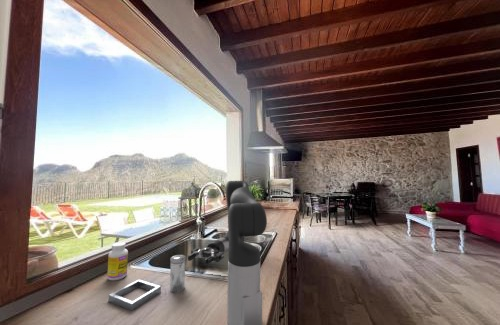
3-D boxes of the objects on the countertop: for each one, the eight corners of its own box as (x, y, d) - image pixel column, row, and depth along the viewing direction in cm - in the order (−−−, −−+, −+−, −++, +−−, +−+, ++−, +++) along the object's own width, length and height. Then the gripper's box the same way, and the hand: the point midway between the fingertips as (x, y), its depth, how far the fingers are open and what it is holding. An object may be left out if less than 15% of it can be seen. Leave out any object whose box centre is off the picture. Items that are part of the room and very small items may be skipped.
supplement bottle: (117, 282, 80) (119, 247, 81) (102, 280, 81) (104, 246, 82) (130, 273, 86) (132, 242, 87) (117, 272, 88) (118, 240, 88)
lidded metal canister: (186, 289, 75) (187, 258, 76) (171, 294, 72) (172, 261, 73) (182, 283, 80) (182, 253, 80) (167, 287, 77) (168, 256, 77)
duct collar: (160, 292, 74) (160, 286, 74) (131, 310, 64) (131, 303, 64) (138, 284, 78) (138, 279, 78) (108, 301, 68) (108, 294, 68)
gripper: (206, 237, 104) (183, 248, 89) (231, 241, 98) (211, 253, 83) (206, 253, 104) (183, 266, 89) (231, 258, 98) (211, 273, 83)
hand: (196, 260), depth 86 cm, fingers open, 8 cm apart
